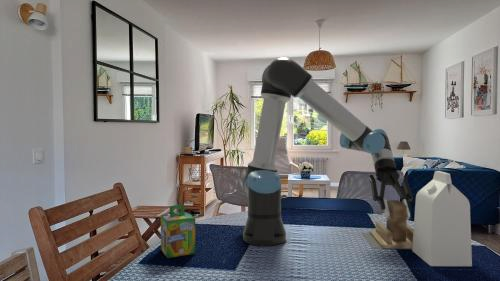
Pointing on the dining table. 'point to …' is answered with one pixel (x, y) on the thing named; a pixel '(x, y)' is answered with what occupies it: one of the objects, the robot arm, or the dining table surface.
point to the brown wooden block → (397, 220)
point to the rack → (385, 237)
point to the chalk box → (177, 233)
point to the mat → (374, 243)
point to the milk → (442, 224)
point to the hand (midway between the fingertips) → (398, 217)
